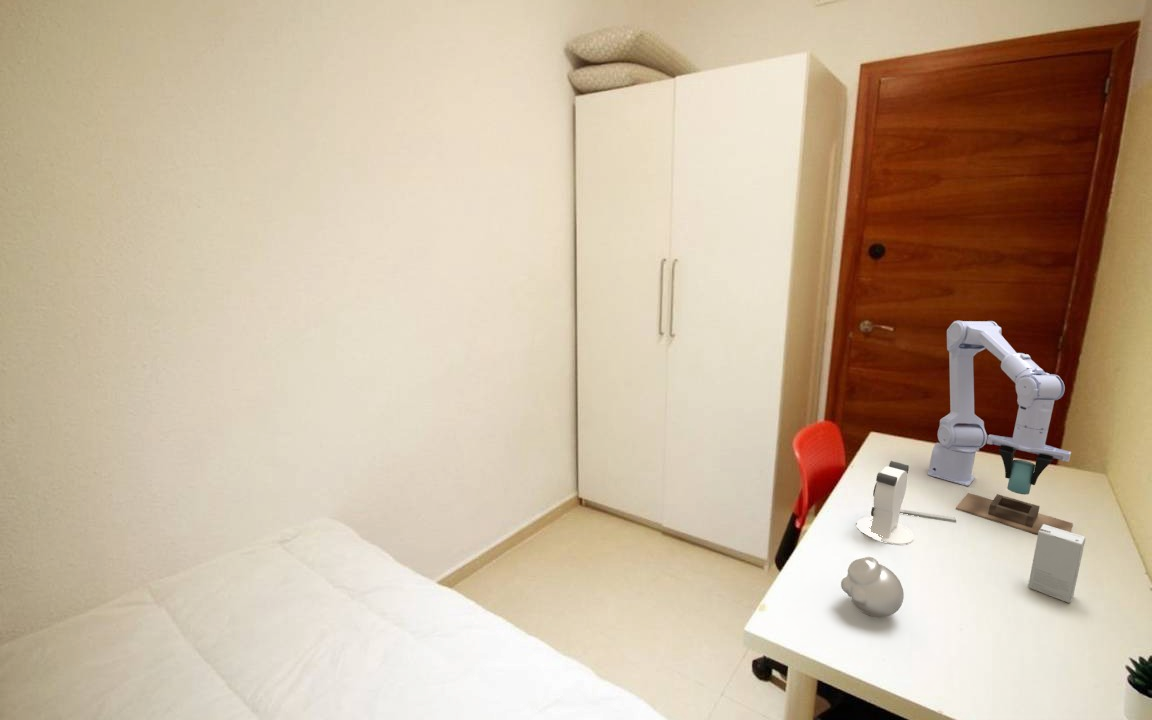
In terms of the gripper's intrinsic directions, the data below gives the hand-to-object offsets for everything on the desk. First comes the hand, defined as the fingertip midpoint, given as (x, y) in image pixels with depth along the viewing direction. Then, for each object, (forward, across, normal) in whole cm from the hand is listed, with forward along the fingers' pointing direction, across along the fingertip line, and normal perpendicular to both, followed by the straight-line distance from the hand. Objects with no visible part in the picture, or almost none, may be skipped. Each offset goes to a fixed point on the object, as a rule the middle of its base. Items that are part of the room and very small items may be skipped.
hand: (1020, 480), depth 121 cm
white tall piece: (+10, -18, -30) cm, 36 cm away
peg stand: (+9, 0, 0) cm, 9 cm away
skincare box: (+10, +10, -30) cm, 33 cm away
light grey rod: (+10, -14, -16) cm, 24 cm away
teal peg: (+3, 0, 0) cm, 3 cm away
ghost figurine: (+10, -10, -62) cm, 63 cm away
